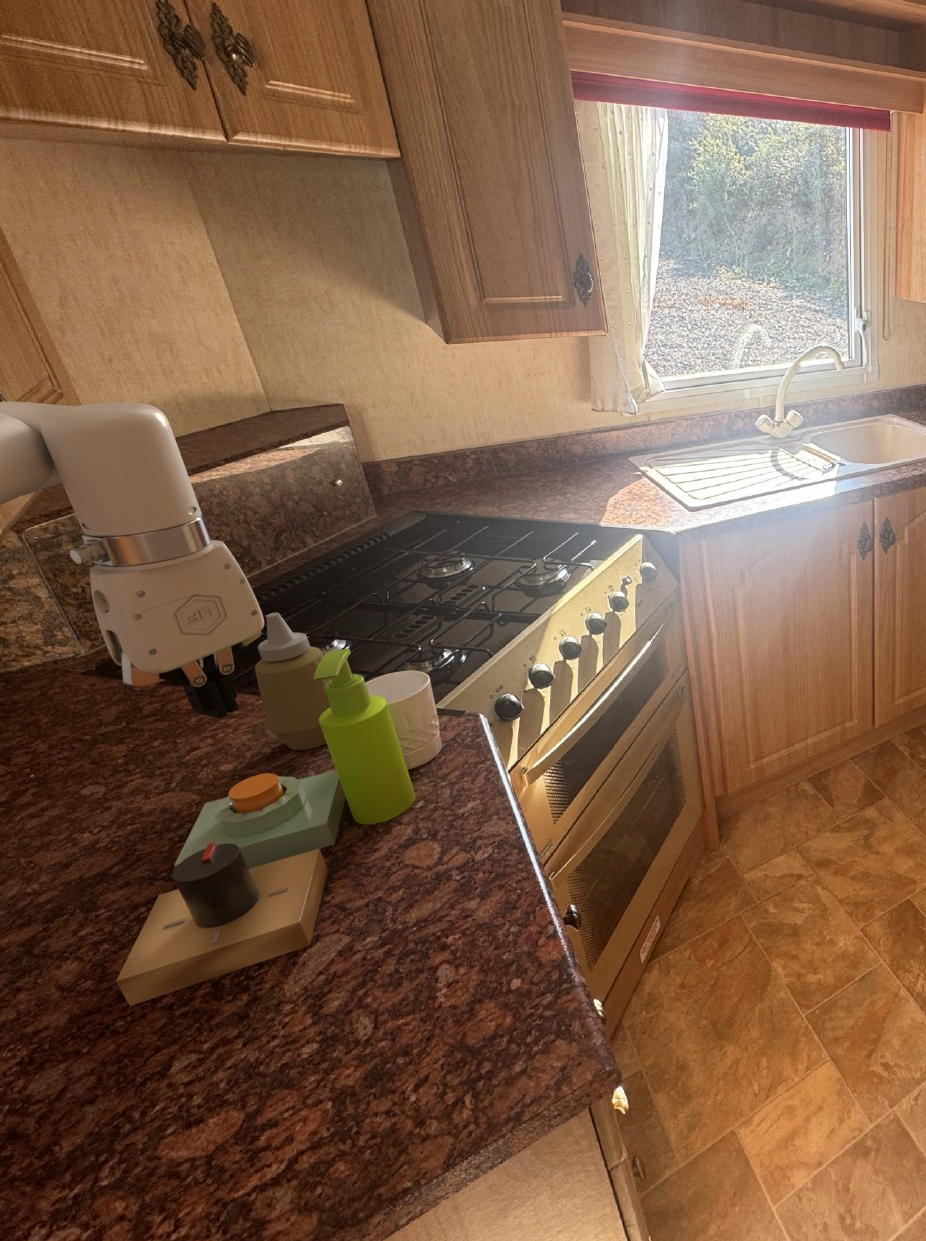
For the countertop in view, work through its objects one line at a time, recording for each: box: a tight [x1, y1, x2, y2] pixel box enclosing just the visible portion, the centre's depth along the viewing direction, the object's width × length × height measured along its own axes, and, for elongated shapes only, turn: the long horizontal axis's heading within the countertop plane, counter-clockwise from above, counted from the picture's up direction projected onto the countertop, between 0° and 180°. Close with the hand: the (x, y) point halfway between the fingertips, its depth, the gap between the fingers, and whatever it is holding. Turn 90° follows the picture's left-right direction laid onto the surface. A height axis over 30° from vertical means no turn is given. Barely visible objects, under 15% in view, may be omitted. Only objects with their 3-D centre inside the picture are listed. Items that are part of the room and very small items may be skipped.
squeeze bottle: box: [254, 612, 332, 751], centre depth 91 cm, size 8×8×18 cm
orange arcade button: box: [227, 772, 284, 813], centre depth 76 cm, size 4×4×2 cm
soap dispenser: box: [313, 647, 416, 825], centre depth 78 cm, size 6×7×20 cm
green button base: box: [173, 769, 346, 869], centre depth 77 cm, size 12×10×5 cm
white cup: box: [365, 670, 443, 770], centre depth 89 cm, size 8×8×10 cm
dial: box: [171, 843, 259, 928], centre depth 65 cm, size 4×4×6 cm
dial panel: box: [115, 849, 329, 1007], centre depth 67 cm, size 12×10×3 cm
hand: (218, 711), depth 72 cm, fingers closed
